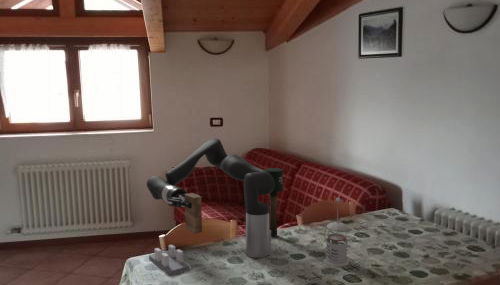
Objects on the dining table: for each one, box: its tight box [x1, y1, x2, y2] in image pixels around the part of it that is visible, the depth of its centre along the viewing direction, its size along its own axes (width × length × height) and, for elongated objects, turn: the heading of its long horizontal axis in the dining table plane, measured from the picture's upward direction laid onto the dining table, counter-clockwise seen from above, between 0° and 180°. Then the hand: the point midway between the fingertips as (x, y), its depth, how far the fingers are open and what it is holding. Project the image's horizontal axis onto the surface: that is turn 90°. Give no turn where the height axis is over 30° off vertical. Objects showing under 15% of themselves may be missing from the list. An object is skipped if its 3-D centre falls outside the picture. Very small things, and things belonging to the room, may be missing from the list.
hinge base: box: [148, 244, 191, 276], centre depth 172 cm, size 8×18×6 cm, turn 36°
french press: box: [323, 197, 350, 267], centre depth 173 cm, size 10×12×25 cm
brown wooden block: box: [184, 192, 203, 234], centre depth 176 cm, size 3×7×14 cm, turn 36°
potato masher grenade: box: [264, 167, 284, 238], centre depth 200 cm, size 8×9×30 cm
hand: (194, 204), depth 174 cm, fingers closed on brown wooden block, 3 cm apart
